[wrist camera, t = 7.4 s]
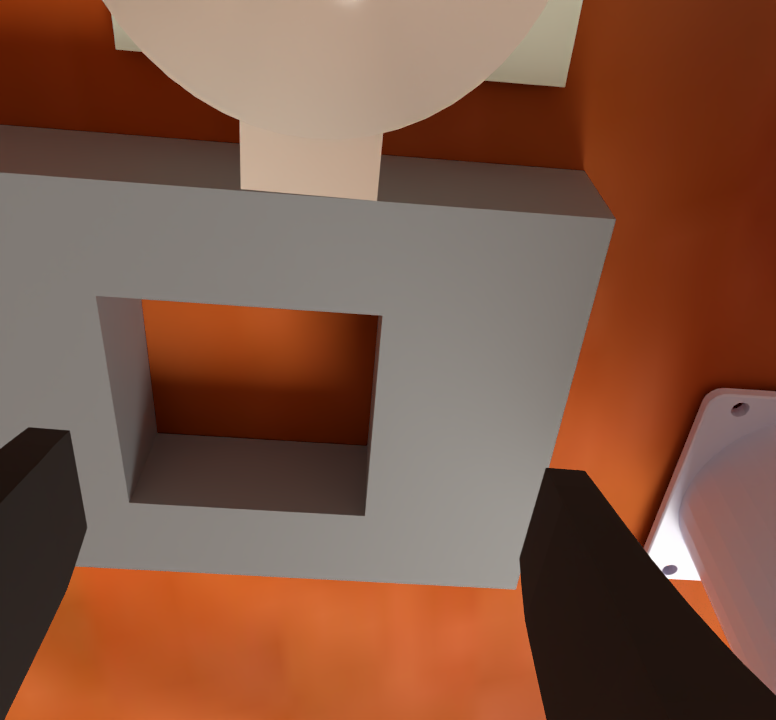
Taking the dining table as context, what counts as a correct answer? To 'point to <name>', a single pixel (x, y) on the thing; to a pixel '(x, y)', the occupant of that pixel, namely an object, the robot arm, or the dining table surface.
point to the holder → (299, 292)
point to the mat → (525, 64)
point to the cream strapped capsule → (324, 74)
